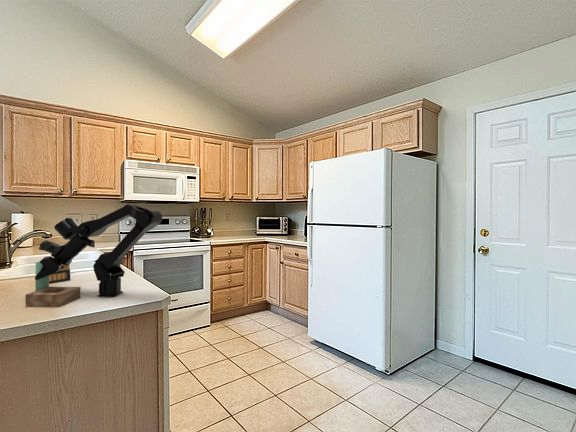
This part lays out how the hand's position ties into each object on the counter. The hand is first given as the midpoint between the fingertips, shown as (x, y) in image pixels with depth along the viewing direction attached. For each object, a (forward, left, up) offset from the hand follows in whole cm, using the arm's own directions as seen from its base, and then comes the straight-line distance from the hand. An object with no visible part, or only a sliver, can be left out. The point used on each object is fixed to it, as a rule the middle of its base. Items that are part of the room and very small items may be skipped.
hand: (37, 278), depth 116 cm
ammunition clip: (+9, -22, -7) cm, 25 cm away
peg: (-1, 0, -7) cm, 7 cm away
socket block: (-11, +8, -7) cm, 15 cm away
